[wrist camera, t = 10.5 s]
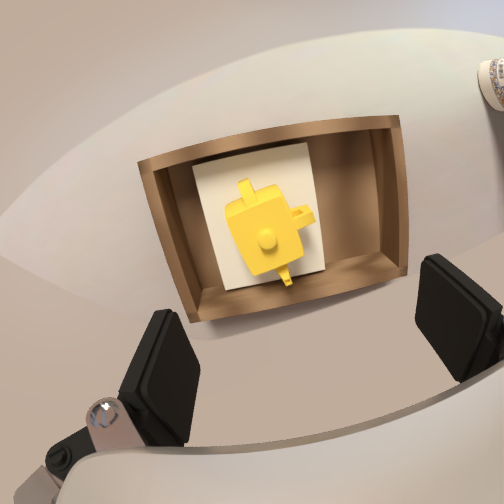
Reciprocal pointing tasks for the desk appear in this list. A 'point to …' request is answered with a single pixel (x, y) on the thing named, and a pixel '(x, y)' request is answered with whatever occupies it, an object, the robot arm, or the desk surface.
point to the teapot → (267, 229)
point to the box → (329, 208)
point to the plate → (260, 175)
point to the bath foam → (492, 82)
